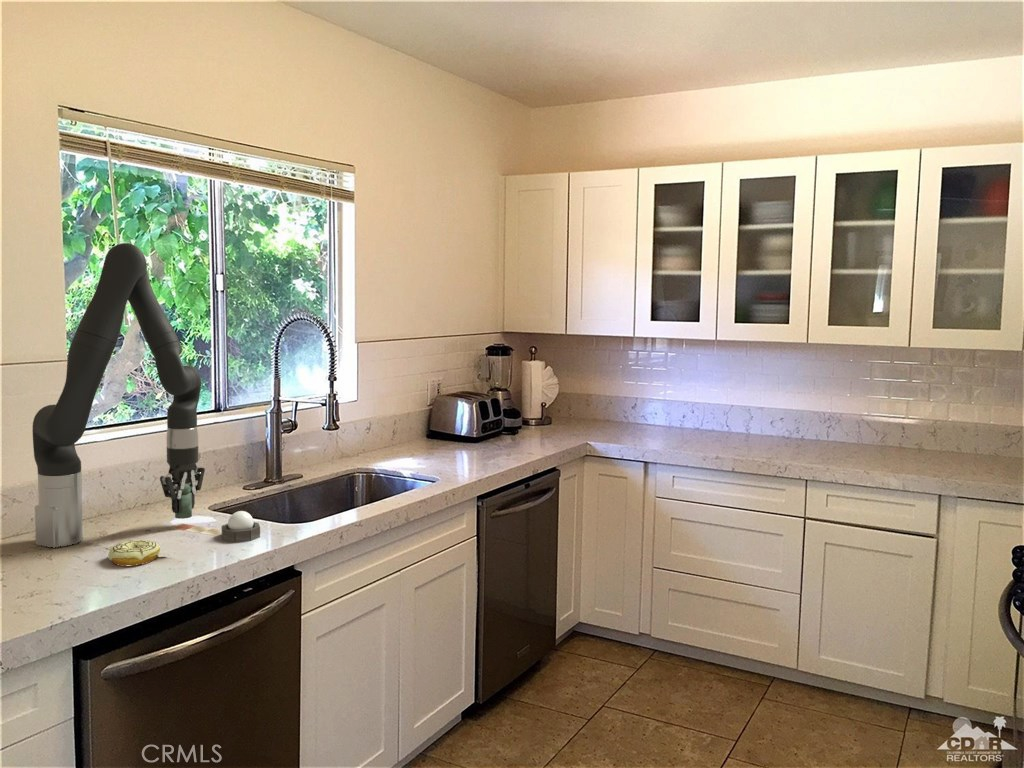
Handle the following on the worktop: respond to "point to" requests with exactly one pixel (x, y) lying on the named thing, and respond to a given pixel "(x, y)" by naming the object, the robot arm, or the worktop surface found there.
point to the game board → (225, 532)
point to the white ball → (240, 521)
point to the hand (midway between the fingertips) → (183, 510)
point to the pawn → (185, 503)
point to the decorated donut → (134, 552)
